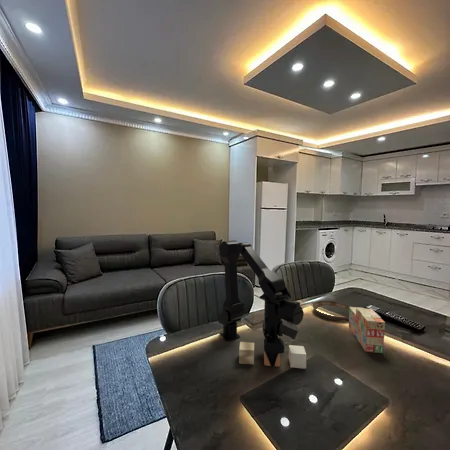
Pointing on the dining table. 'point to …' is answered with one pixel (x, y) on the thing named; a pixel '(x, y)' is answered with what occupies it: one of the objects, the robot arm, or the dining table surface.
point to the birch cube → (246, 353)
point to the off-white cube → (297, 356)
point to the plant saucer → (331, 303)
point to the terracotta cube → (268, 360)
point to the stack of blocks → (367, 328)
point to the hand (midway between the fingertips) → (271, 358)
